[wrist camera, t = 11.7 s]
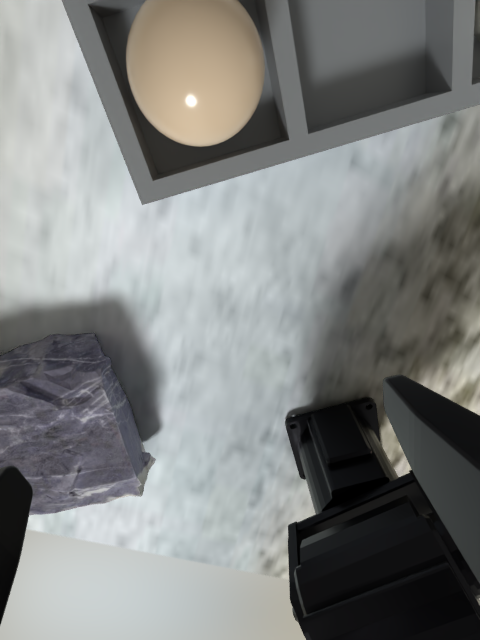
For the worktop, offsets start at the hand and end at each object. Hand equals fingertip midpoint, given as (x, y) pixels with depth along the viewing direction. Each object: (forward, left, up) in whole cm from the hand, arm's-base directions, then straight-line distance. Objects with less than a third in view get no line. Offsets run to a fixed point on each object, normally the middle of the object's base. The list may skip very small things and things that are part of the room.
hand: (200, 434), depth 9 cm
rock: (-9, +19, -14) cm, 24 cm away
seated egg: (+8, -2, -12) cm, 15 cm away
